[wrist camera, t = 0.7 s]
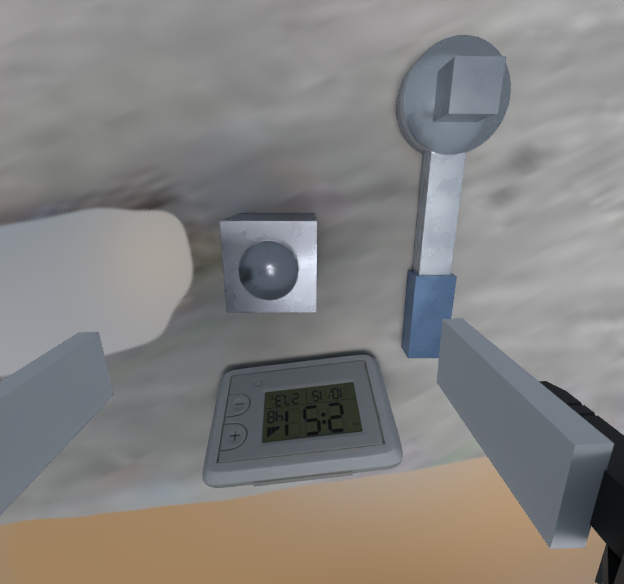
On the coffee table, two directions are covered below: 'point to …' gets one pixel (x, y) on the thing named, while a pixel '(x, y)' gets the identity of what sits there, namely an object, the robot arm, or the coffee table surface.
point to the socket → (270, 262)
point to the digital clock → (301, 423)
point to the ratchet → (444, 167)
